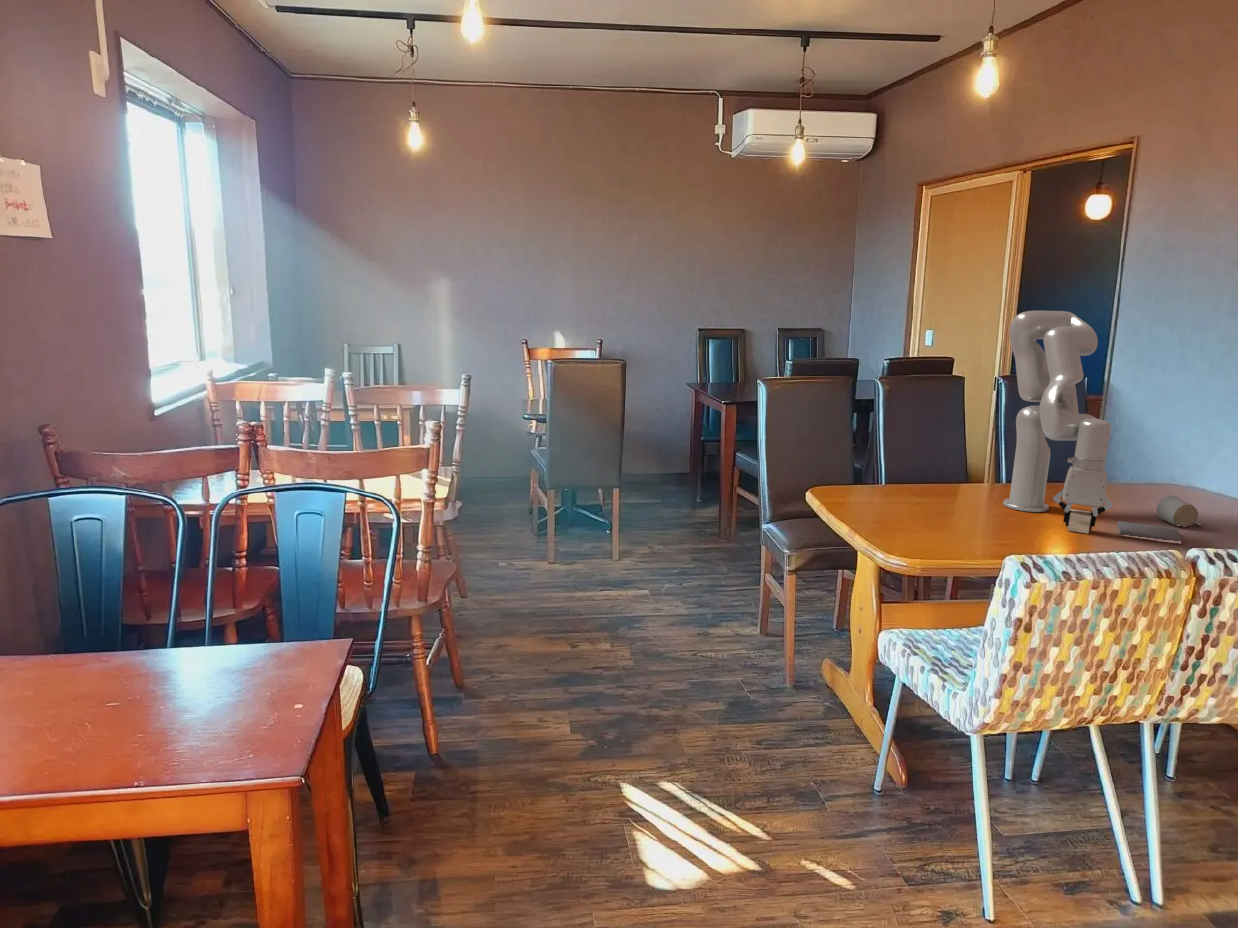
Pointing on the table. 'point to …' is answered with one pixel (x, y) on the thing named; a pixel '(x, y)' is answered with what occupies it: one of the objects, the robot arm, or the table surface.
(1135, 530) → the serving board
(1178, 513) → the ceramic mug
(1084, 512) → the beech cube
